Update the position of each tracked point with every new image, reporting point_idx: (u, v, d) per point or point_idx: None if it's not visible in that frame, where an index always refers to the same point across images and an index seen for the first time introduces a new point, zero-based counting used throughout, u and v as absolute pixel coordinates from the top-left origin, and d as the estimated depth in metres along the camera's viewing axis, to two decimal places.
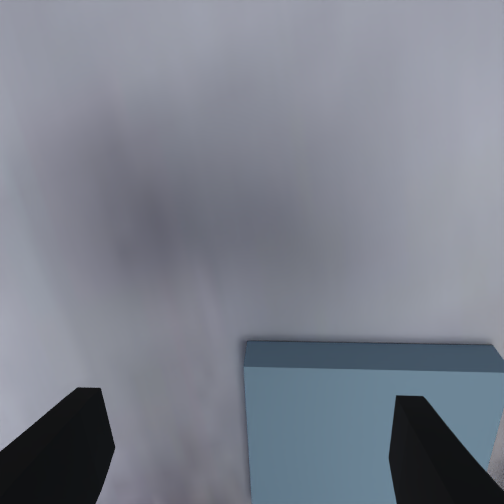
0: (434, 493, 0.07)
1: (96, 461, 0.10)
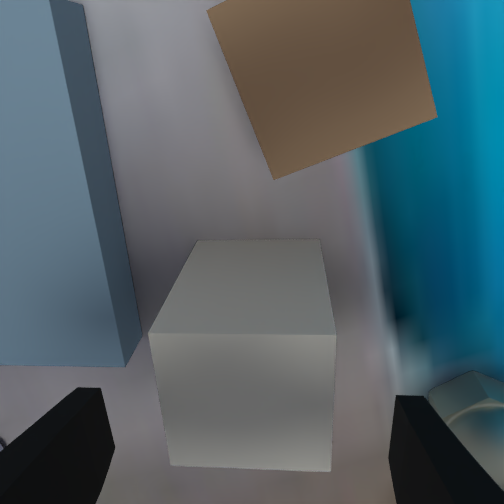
0: (434, 493, 0.07)
1: (96, 461, 0.10)
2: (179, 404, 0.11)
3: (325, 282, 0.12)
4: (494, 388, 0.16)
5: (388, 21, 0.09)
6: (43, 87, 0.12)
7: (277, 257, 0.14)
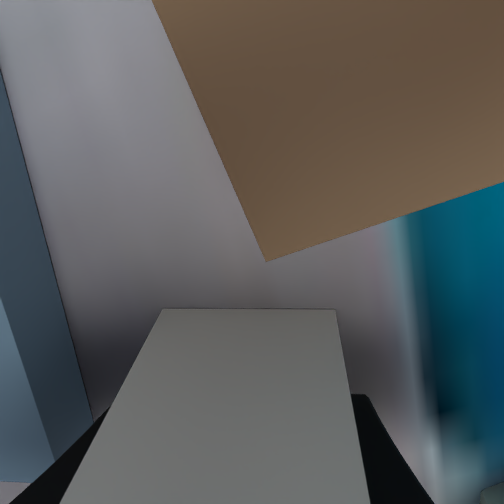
0: None
1: None
2: None
3: (350, 409, 0.08)
4: None
5: None
6: None
7: (274, 347, 0.09)
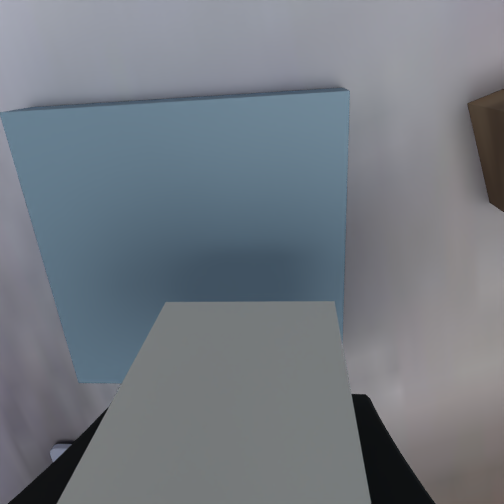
0: None
1: None
2: None
3: (348, 394, 0.08)
4: None
5: None
6: (327, 161, 0.14)
7: (275, 337, 0.10)
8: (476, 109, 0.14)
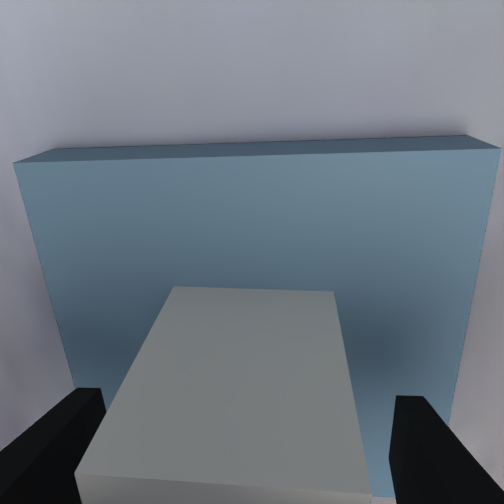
0: (434, 493, 0.07)
1: None
2: None
3: (346, 374, 0.08)
4: None
5: None
6: (455, 237, 0.11)
7: (278, 322, 0.10)
8: None
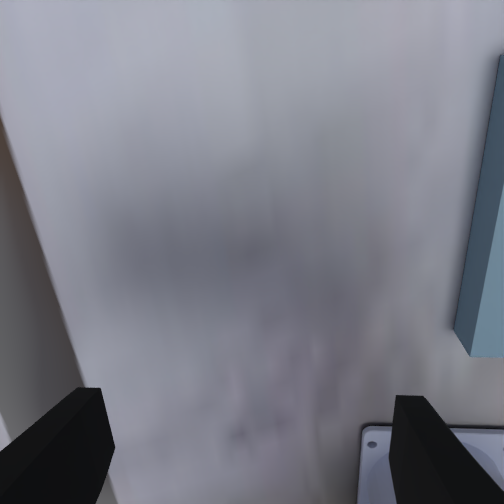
0: (434, 493, 0.07)
1: (96, 461, 0.10)
2: None
3: None
4: None
5: None
6: None
7: None
8: None
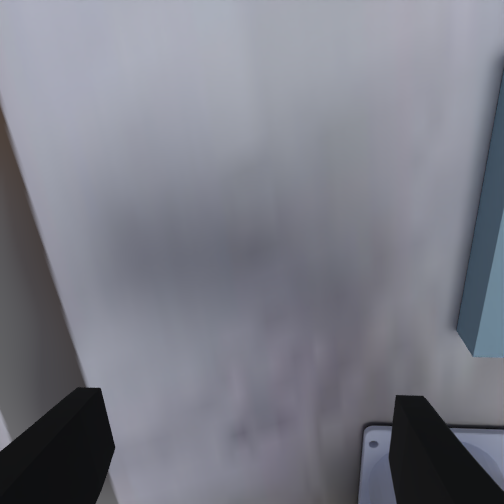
0: (434, 493, 0.07)
1: (96, 461, 0.10)
2: None
3: None
4: None
5: None
6: None
7: None
8: None
